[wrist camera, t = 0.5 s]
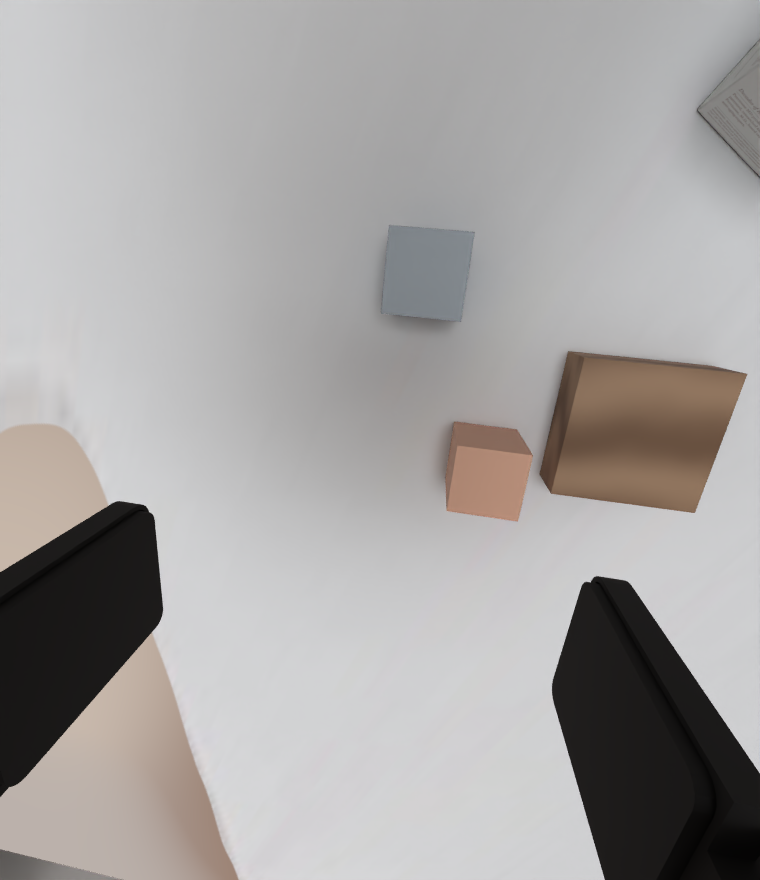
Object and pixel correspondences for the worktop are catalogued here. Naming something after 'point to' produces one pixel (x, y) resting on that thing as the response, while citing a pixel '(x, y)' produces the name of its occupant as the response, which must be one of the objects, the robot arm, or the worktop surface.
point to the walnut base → (638, 429)
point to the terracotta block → (487, 471)
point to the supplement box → (738, 108)
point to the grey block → (426, 272)
